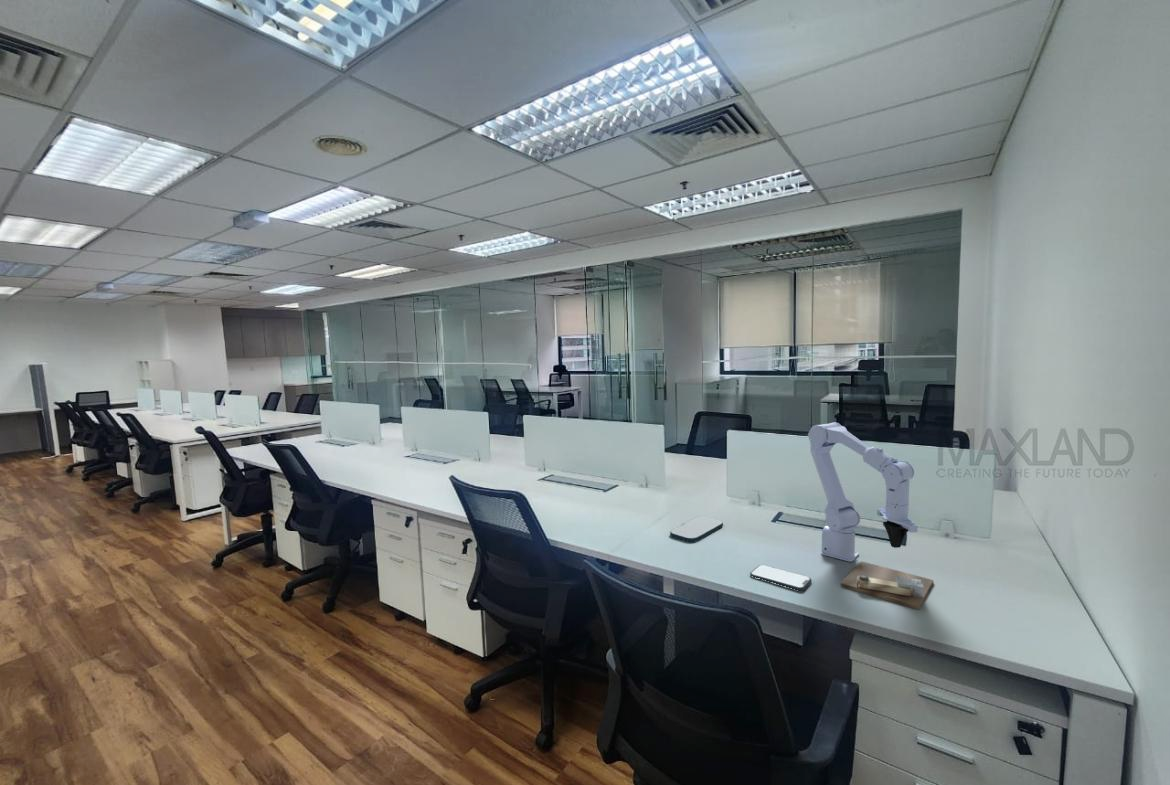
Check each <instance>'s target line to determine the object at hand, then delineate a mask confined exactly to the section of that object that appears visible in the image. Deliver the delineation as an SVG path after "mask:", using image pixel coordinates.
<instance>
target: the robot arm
mask: <svg viewBox="0 0 1170 785" xmlns="http://www.w3.org/2000/svg"><path fill="white" fill-rule="evenodd" d="M807 436H808V439H809V442H810V454H811V456H812V459H813V462H814V464H815V469H816V472H817V473H818V474H817V475H818V477H819V480H820V483H821V485H822V488H823V492H824V494H825V496H826V500H827V503H826V505H825V507H824V509H823V510H824V513H825V522H826V525H824V527H823V529H822V534H821V552H820V554H821V555H823V556H826V557H830V558H834V559H837V560H838V559H839V560H841V561H845V562H850V563H851V562H853V561H854V560H855V559H856V558H857V557H858V556H859V555H860V554H859V552H858V551H857V552H856V551H855V548H856V546H855V545H856V542H855V541H856V529H857V526H858V525H860V522H861V515H860V514H859V511H858V510H857V509H856V508H855V506H854V504H853V502H852V501H850V500H849V499H847V498H846V495H845V493H844V490H843V487H842V484H841V481H840V478H839V476H838V473H837V470H836V467H835V464H834V462H833V459H832V456H831V450H832V449H833V447H834V446H836V444H841V445H843V446H845V447H847V448H849V450H852V451H853V452H856V454H859V455H861V456H862V460H863V462H864V463H866V464H867V465H869V467H872V468H873V469H874V470H876V471H878V472H880V474H881V475H882V478H883V479H884V481H885V508H877V512H876V513H877V514H876V515H877V516H879V517H880V516H881V519H882V520H884V521H883V522H882V525H883V527H884V529H885V531H886V533H887V536H888V539H889V544H890V546H891V547H892V548H895V549H896V548H898V549H900V548H901V545H902V543H903V540H904V538H905V536H906V535H907V533H908V532H909V533H918V530H919V528H918V524H915V522H913V521H912V519H910V518H909V506H910V504H909V502H910V501H909V500H910V480H911V479H913V478H914V475H915V471H914V467H913V466H912V465H911V464H910V463H909V462H908V461H906V460H898V458H896V457H894V456H891V455H890V454H889V453H887V452H885V451H884V449H883V448H882V447H881V446H879V447H877V446H871V447H870V446H869V445H867V444H866V443H865V442H864V441H862V440H860V439H859V438H858V437H856V436H855V435H853V434H852V433H851V432H850V431H848V430H847V428H846V427H845V426H843V425H841V424H840V423H839V422H835V421H834V422H830V423H823V424H815V425H813V426H812V427H810V429H809V431H808V433H807ZM840 508H841V509H840ZM839 509H840V510H839Z"/></svg>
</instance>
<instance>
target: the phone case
mask: <svg viewBox="0 0 1170 785" xmlns="http://www.w3.org/2000/svg"><path fill="white" fill-rule="evenodd" d="M750 575H751V576H753V577H756V578H760V579H763V580H766V581H769V582H773V583H776V584H779V585H782V586H786V587H789V588H792V589H795V590H798V591H804V590H807V589H808V587H809V586H810V585H811V584H812V578H811V577H809V576H806V575H802V574H799V573H794V572H790V571H787V570H785V569H784V570H783V569H779V568H776V567H772V566H769V565H764V564H759V565H758V566H756V567H755V568H754V569H753V570H752V571H750V573H749V576H750ZM810 583H811V584H810ZM809 584H810V585H809ZM808 585H809V586H808ZM807 586H808V587H807ZM798 591H797V592H798ZM804 592H805V591H804Z"/></svg>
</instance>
